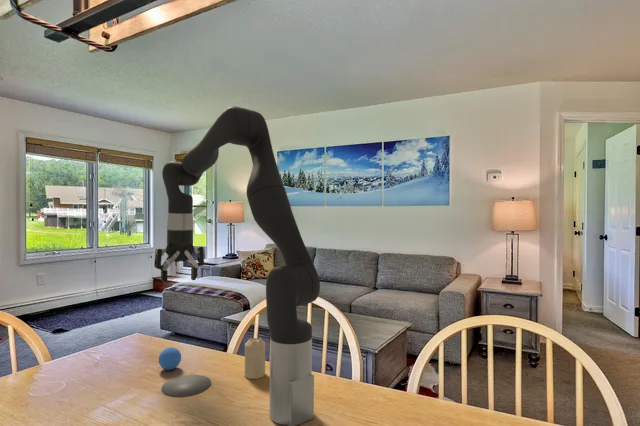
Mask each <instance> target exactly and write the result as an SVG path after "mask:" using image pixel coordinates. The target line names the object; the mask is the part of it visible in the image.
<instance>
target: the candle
mask: <svg viewBox="0 0 640 426" xmlns="http://www.w3.org/2000/svg"><path fill="white" fill-rule="evenodd" d="M265 375H266V342H265V341H264V340H263V339H262V338H260V337H259V338H255V337H253V338H252V337H250V338H249V339H248V340H247V342H245V343H244V377H245V378H246V379H249V380H258V379H261V378H264V377H265Z"/></svg>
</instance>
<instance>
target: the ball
mask: <svg viewBox="0 0 640 426" xmlns="http://www.w3.org/2000/svg"><path fill="white" fill-rule="evenodd" d="M181 361H182V353H181V351H180V350H179V349H178V348H176V347H173V346H171V347H170V346H169V347H166V348H164V349H162V351H161V352H160V353H159V355H158V364H159V367H161V369H164V370H167V371H170V370H173V369H175V368H177V367H178V366H179V365H180V363H181Z"/></svg>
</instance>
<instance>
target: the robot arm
mask: <svg viewBox="0 0 640 426" xmlns="http://www.w3.org/2000/svg"><path fill="white" fill-rule="evenodd" d="M227 144H231V145H236V146H242V147H246V148H247V149H248V151H249V152H248V153H250V157H251V161H252V170H251V172H250V176H249V179H248V182H247V185H246V196H247V197H246V198H247V201H248V204H249V209H250V211H251V214H252V217H253V219H254V221H255V223H256V224H257V225H258V227H259V228H260V229H261V230H262V231H263V233H264V234H266V235H267V237H268V238H270V240H271V241H272V242H273V243H274V245H276V247H277V248H278V250H279V252H280V254H281V256H282V258H283V261H284V263H285V265H279V266H275V267H274V268H272V269H271V270H270V271H269V272H268V275H267V277H266V283H265V298H266V299H265V301H266V322H267V325H268V329H269V334H270V335H269V418H270V419H271V421H272V422H274V423H276V424H279V425H281V426H282V425H283V426H298V425H301V424H303V423H306V422H308V421H310V420H312V419H315V417H314V415H315V413H314V412H315V375H314V374H313V373H312V371H313V370H312V369H313V368H312V365H313V364H312V362H313V361H312V360H313V359H312V358H313V357H312V356H313V352H312V351H313V348H312V347H313V327H312V324H311V323H310V322H309V321H307V320H305V319H304V320H303V319H299V318H298V312H297V307H300V306H303V305H308V304H311V303H313V302H315V301H316V300H317V299H318V298H319V295H320V293H321V282H320V278H319V274H318V272H317V269H316V266H315V265H314V261H313V260H312V257H311V256H310V253H309V251H308V249H307V247H306V245H305V242H304V240H303V237H302V235H301V233H300V230H299V227H298V223H297V221H296V218H295V216H294V213H293V210H292V207H291V202H290V200H289V196H288V194H287V191H286V188H285V185H284V182H283V179H282V178H281V174H280V171H279V168H278V164H277V161H276V158H275V154H274V151H273V146H272V141H271V136H270V132H269V127H268V124H267V122H266V119H265V117H264V115H262V114H261V113H260V112H258V111H256V110H251V109H248V108H245V107H240V106H229V107H228V106H227V108H226V109H224V110H223V111H222V112H221V113H220V114H219V116H217V118H216V120H214V122H213V124H212V125H211V127H210V128H209V129H208V130H207V132H206V133H205V135H204V136H203V137H202V139H201V140H200V141H199V142H198V144H196V145H195V146H194V147H193V148H192V149H190V150H189V151H188V152H187V153H185V154H184V155H183V157H182V159H181V162H179V161H168V162H166V163H165V164H164V166H163V168H162V171H161V173H162V180H163V184H164V187H165V191H166V195H167V201H168V204H167V205H168V206H167V220H166V246H165V248H161V247H160V248H159V247H156V248H155V249H154V250H155V251H154V263H153V266H154V268H156V269H157V270H160V280H161V281H162V283H164V284H167V283H168V269H169V268H170V266H171V265H172V264H173V263H174V262H175V263H179V262H188V263H189V264H190V265H191V266H192V267H191V268H190V280H192V281H196V279H197V278H198V274H199V273H198V269H199V267H203V266H204V264H205V256H204V255H205V253H204V247H203V246H201V245H197V246H194V217H193V216H194V214H193V213H194V211H193V210H194V206H193V204H194V203H193V202H194V199H193V196H192V194H189V193H185V192H183V191H181V189H180V186H182V187H183V186H185V187H192V186H194V185H197V183H199V181H200V179H201V177H202V176H203V174H204V173H205V172H206V171H207V170H209V169H210V168H211V167H213V165H215V164H216V162H217V161H218V159H219V156H220V155H219V152H220V151H219V150H220V148H221V147H222V146H225V145H227ZM193 253H195V254H196V260H195V258H194V257H193V256H192V255H193ZM164 254H166V255H167V257H165V259H164V262H163V263H162V259H163V258H162V257H163V256H164Z"/></svg>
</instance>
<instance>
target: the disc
mask: <svg viewBox="0 0 640 426" xmlns="http://www.w3.org/2000/svg"><path fill="white" fill-rule="evenodd" d="M211 385H212V380H211V379H210V377H208V376H205V375H200V374H186V375H180V376H176V377H173V378H171V379H169V380H167V381H166V382H164V383H163V384H162V386H161V392H162V393H163V394H164V395H166V396H169V397H173V398H175V397H176V398H177V397H179V398H181V397H183V398H184V397H189V396H193V395H194V396H195V395H197V394H201V393H202V392H205V391H206V390H208V389H209V388H210V387H211Z"/></svg>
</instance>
